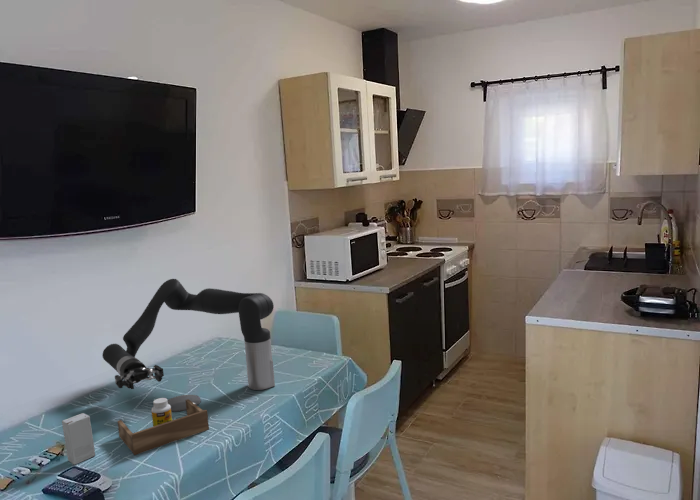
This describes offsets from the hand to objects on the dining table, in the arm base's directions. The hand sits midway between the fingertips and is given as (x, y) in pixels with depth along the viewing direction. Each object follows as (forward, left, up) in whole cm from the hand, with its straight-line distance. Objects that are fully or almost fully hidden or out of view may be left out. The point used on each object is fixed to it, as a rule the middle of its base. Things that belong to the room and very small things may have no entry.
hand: (146, 382), depth 175 cm
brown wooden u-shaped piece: (-5, +10, -13) cm, 17 cm away
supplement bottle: (-5, +10, -13) cm, 17 cm away
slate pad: (-9, -10, -13) cm, 18 cm away
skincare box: (+16, +19, -13) cm, 28 cm away
